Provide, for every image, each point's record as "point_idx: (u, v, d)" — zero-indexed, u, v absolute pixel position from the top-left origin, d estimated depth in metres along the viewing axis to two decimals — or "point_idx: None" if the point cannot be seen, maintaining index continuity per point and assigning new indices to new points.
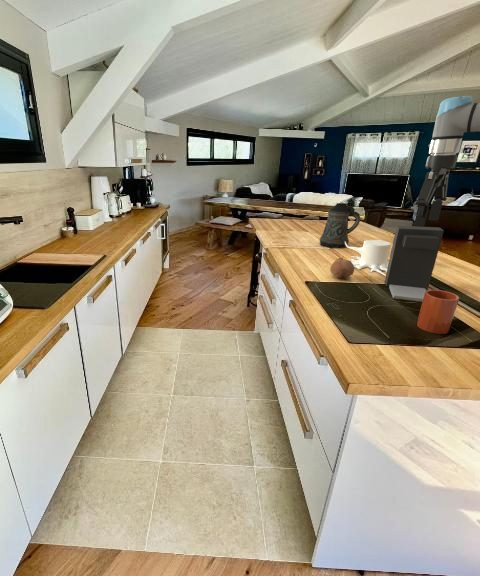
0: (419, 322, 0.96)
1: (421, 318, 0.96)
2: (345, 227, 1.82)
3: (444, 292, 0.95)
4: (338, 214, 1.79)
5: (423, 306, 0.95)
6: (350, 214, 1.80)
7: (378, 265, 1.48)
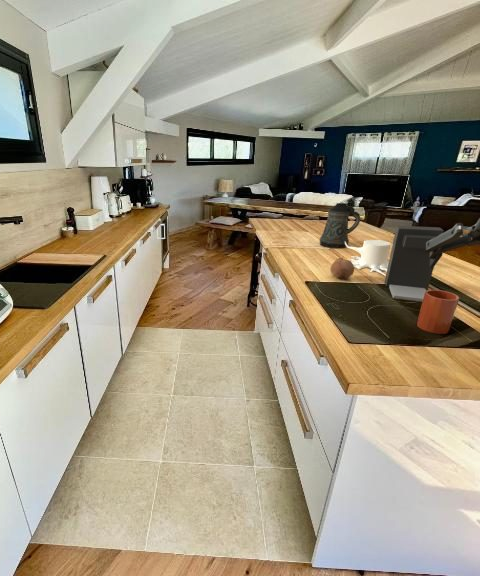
0: (419, 322, 0.96)
1: (421, 318, 0.96)
2: (345, 227, 1.82)
3: (444, 292, 0.95)
4: (338, 214, 1.79)
5: (423, 306, 0.95)
6: (350, 214, 1.80)
7: (378, 265, 1.48)
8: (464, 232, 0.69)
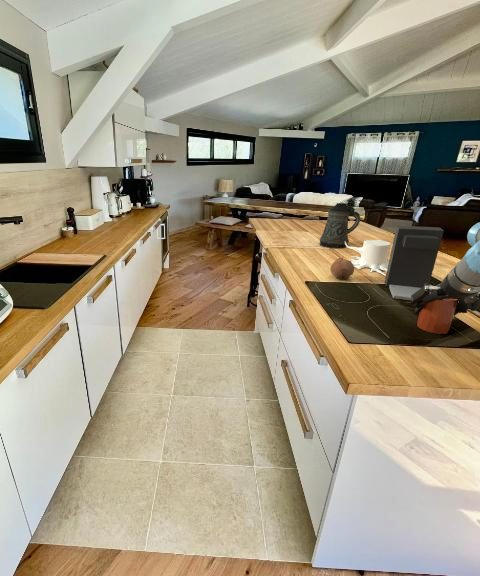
0: (419, 322, 0.96)
1: (421, 318, 0.96)
2: (345, 227, 1.82)
3: None
4: (338, 214, 1.79)
5: None
6: (350, 214, 1.80)
7: (378, 265, 1.48)
8: (432, 290, 0.86)
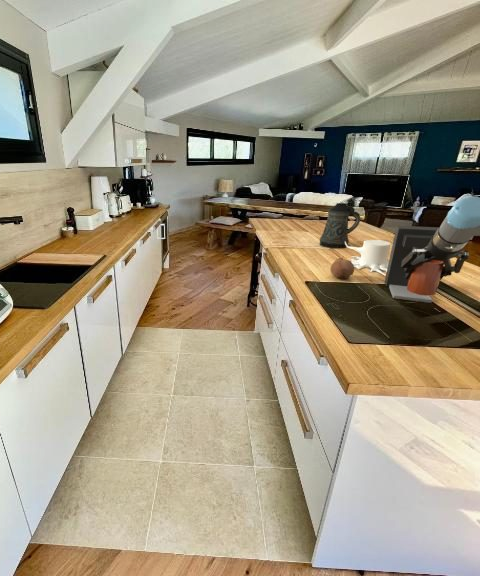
0: (409, 286, 1.06)
1: (411, 282, 1.05)
2: (345, 227, 1.82)
3: None
4: (338, 214, 1.79)
5: None
6: (350, 214, 1.80)
7: (378, 265, 1.48)
8: (419, 253, 0.95)
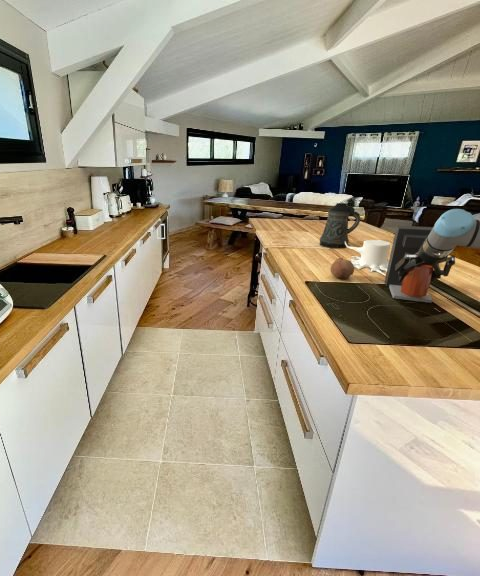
0: (402, 288, 1.14)
1: (404, 284, 1.13)
2: (345, 227, 1.82)
3: None
4: (338, 214, 1.79)
5: None
6: (350, 214, 1.80)
7: (378, 265, 1.48)
8: (411, 258, 1.04)
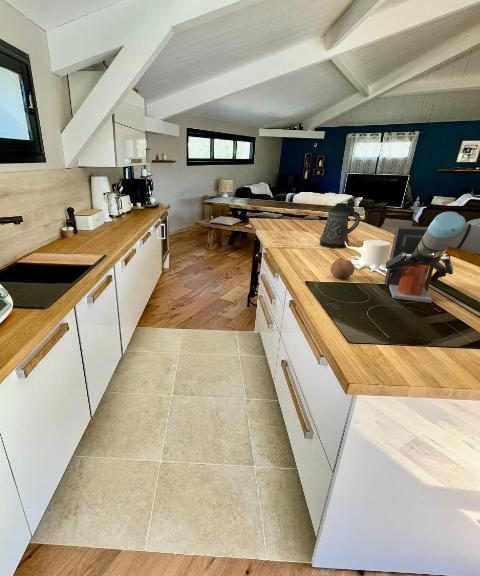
0: (399, 287, 1.20)
1: (400, 284, 1.19)
2: (345, 227, 1.82)
3: None
4: (338, 214, 1.79)
5: (402, 274, 1.18)
6: (350, 214, 1.80)
7: (378, 265, 1.49)
8: (407, 257, 1.08)
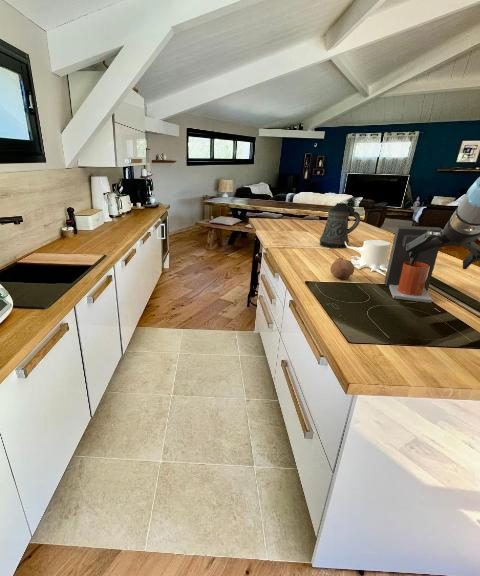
0: (399, 287, 1.20)
1: (400, 284, 1.19)
2: (345, 227, 1.82)
3: (418, 263, 1.18)
4: (338, 214, 1.79)
5: (402, 274, 1.18)
6: (350, 214, 1.80)
7: (378, 265, 1.49)
8: (434, 236, 0.87)
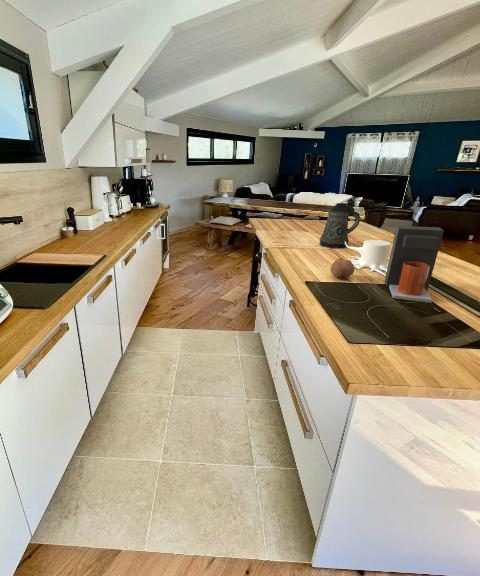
0: (399, 287, 1.20)
1: (400, 284, 1.19)
2: (345, 227, 1.82)
3: (418, 263, 1.18)
4: (338, 214, 1.79)
5: (402, 274, 1.18)
6: (350, 214, 1.80)
7: (378, 265, 1.49)
8: None
